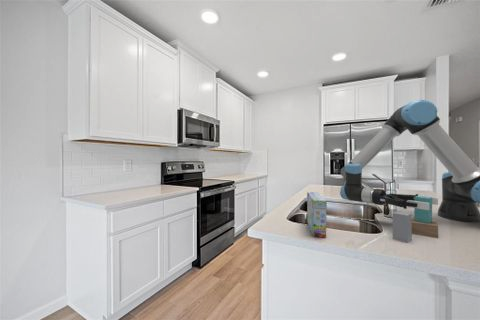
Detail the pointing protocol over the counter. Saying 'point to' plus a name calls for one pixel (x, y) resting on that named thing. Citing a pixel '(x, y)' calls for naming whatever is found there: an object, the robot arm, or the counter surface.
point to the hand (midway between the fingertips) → (433, 203)
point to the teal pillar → (423, 214)
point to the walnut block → (425, 228)
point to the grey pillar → (402, 226)
